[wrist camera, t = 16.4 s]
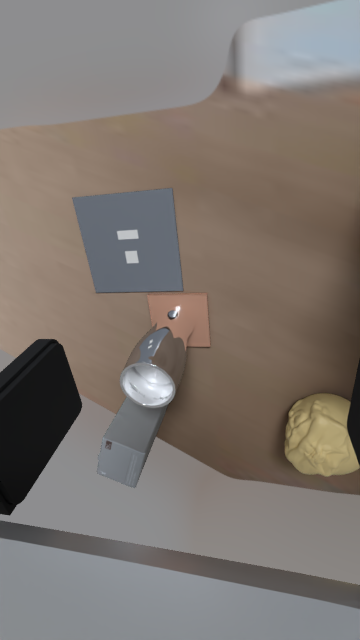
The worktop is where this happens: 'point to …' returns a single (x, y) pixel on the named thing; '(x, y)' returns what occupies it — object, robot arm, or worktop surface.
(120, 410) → the skincare box
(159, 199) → the blue-grey tile
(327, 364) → the worktop surface
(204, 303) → the coaster
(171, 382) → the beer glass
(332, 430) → the sculpture
